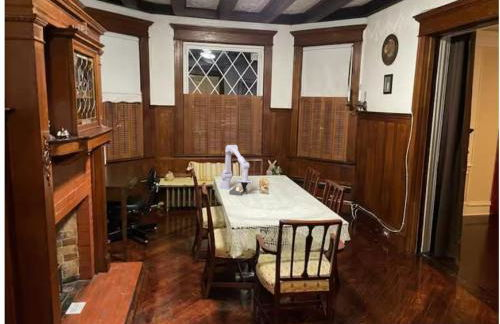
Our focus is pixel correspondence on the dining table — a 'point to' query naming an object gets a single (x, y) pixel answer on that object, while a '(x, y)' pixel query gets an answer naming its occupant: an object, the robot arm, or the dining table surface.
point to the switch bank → (234, 192)
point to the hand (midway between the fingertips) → (244, 190)
